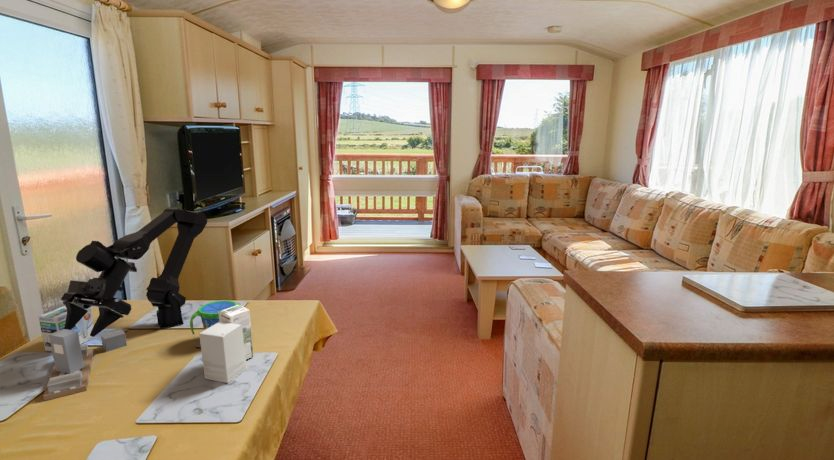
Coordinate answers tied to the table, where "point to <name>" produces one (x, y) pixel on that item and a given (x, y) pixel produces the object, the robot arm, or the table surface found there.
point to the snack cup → (211, 313)
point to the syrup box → (242, 318)
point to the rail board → (84, 375)
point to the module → (66, 351)
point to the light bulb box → (56, 322)
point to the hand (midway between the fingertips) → (78, 333)
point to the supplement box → (223, 351)
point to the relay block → (113, 340)
